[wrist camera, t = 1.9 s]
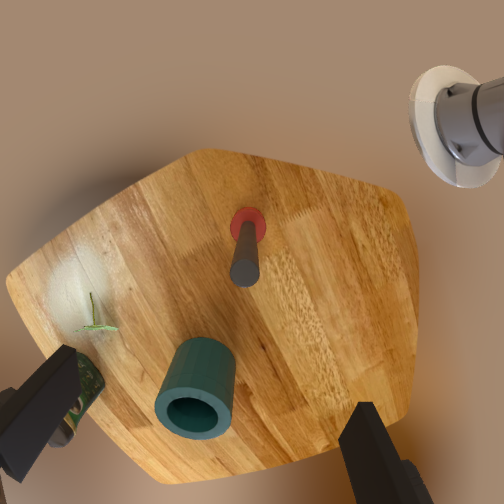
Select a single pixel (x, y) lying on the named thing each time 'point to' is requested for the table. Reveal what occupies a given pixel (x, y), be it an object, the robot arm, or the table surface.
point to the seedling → (97, 327)
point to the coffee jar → (79, 402)
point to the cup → (198, 390)
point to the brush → (246, 246)
